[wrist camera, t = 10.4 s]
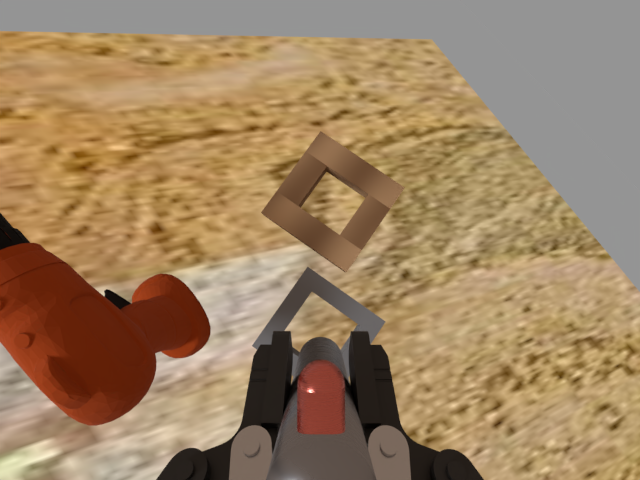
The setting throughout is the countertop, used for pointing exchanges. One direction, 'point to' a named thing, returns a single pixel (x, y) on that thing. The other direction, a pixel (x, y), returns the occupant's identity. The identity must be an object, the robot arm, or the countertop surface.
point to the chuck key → (320, 422)
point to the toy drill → (90, 330)
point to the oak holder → (352, 173)
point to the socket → (332, 296)
